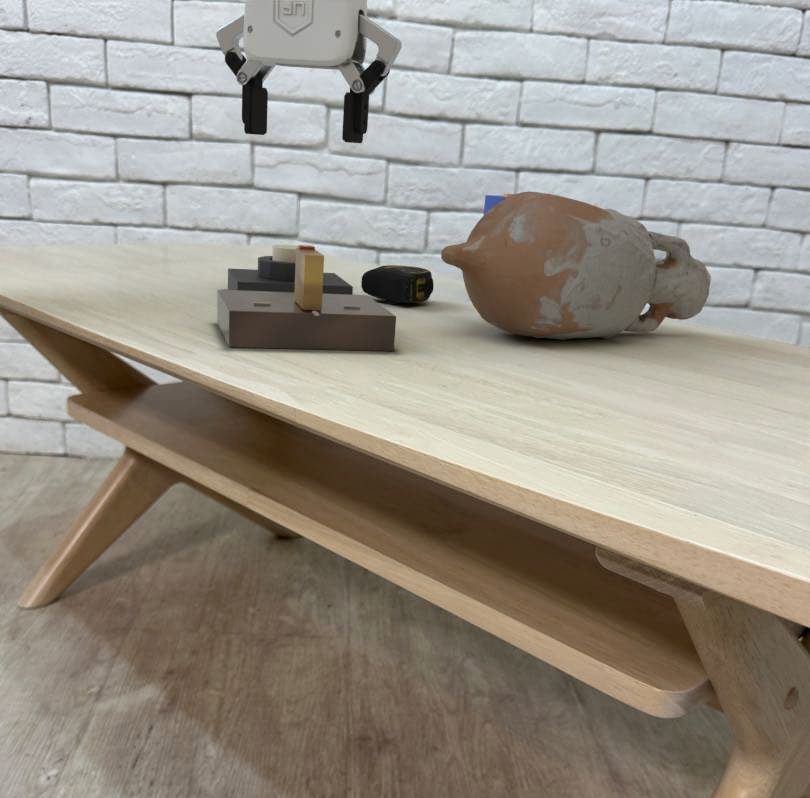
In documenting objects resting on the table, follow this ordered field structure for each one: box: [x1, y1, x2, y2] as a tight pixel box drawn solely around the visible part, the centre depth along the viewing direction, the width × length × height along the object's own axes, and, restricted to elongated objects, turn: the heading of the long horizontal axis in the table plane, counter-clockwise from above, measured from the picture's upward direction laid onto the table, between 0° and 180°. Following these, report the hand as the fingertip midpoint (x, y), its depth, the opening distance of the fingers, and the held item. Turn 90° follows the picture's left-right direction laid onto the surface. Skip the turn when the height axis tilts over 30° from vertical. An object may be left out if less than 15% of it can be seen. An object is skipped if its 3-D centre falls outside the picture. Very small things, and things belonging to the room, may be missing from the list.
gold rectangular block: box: [294, 244, 325, 311], centre depth 84 cm, size 5×2×5 cm, turn 14°
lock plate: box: [216, 289, 397, 352], centre depth 87 cm, size 14×12×3 cm
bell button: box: [271, 244, 298, 263], centre depth 106 cm, size 4×4×2 cm
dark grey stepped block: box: [227, 255, 354, 295], centre depth 107 cm, size 12×10×4 cm
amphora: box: [440, 191, 712, 341], centre depth 96 cm, size 14×16×30 cm
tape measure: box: [360, 264, 434, 305], centre depth 110 cm, size 7×7×4 cm
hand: (303, 138), depth 90 cm, fingers open, 9 cm apart
